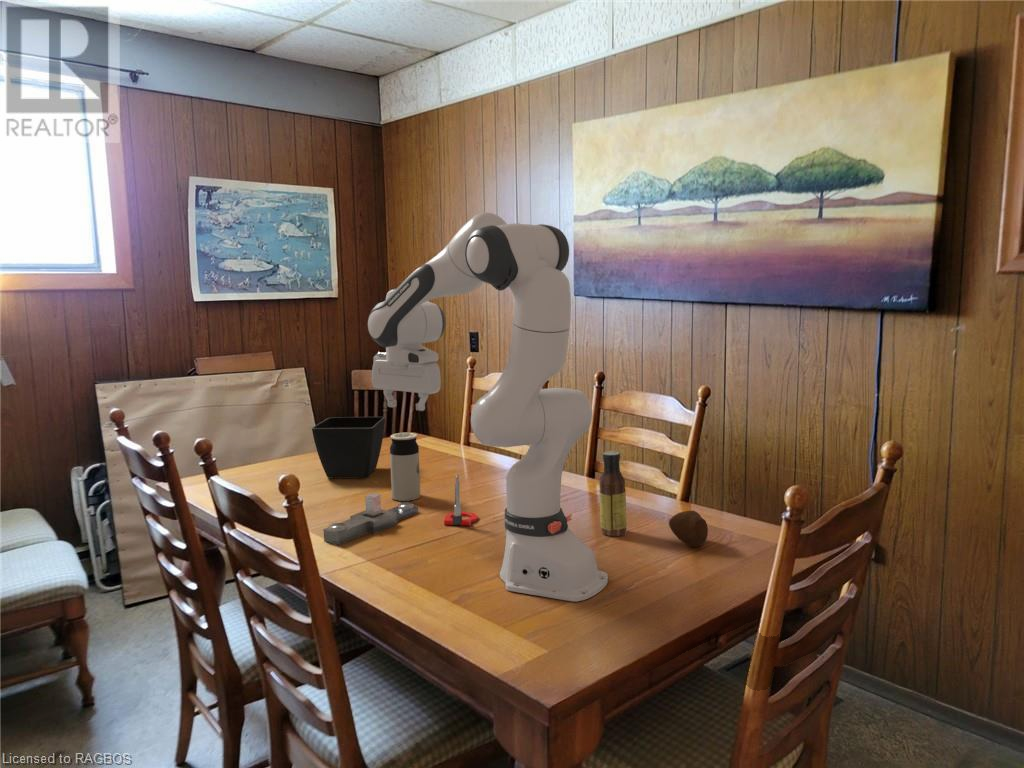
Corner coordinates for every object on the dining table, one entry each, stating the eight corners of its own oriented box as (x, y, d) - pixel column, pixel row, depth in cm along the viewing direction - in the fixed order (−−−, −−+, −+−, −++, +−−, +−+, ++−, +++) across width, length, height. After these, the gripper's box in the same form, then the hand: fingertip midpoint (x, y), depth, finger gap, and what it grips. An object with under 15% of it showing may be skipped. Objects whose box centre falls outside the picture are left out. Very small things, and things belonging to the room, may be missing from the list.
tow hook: (449, 515, 190) (440, 525, 181) (448, 467, 189) (439, 475, 180) (480, 516, 189) (473, 527, 180) (480, 468, 188) (473, 476, 179)
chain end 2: (422, 513, 191) (422, 505, 191) (374, 533, 176) (373, 525, 176) (400, 508, 195) (399, 500, 195) (350, 527, 181) (350, 519, 180)
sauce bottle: (627, 529, 177) (628, 450, 174) (624, 538, 171) (625, 456, 168) (601, 527, 178) (601, 448, 175) (597, 536, 172) (597, 455, 169)
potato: (695, 553, 161) (696, 519, 160) (662, 541, 169) (662, 508, 168) (716, 546, 165) (717, 513, 164) (683, 534, 173) (684, 502, 172)
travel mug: (387, 500, 202) (384, 437, 199) (398, 492, 209) (396, 431, 207) (414, 502, 200) (412, 439, 197) (424, 494, 208) (422, 432, 205)
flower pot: (331, 465, 240) (328, 416, 238) (387, 465, 239) (385, 415, 237) (313, 482, 222) (310, 428, 219) (374, 481, 221) (372, 427, 218)
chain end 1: (396, 524, 183) (396, 510, 182) (343, 546, 168) (342, 531, 167) (373, 518, 187) (373, 504, 187) (319, 540, 172) (318, 525, 172)
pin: (381, 525, 182) (380, 494, 181) (374, 528, 180) (372, 497, 179) (374, 523, 183) (372, 493, 182) (366, 526, 181) (365, 495, 180)
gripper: (364, 352, 182) (367, 406, 184) (426, 357, 171) (428, 414, 173) (382, 350, 187) (384, 403, 189) (443, 354, 176) (445, 410, 178)
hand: (406, 408), depth 181 cm, fingers open, 8 cm apart
